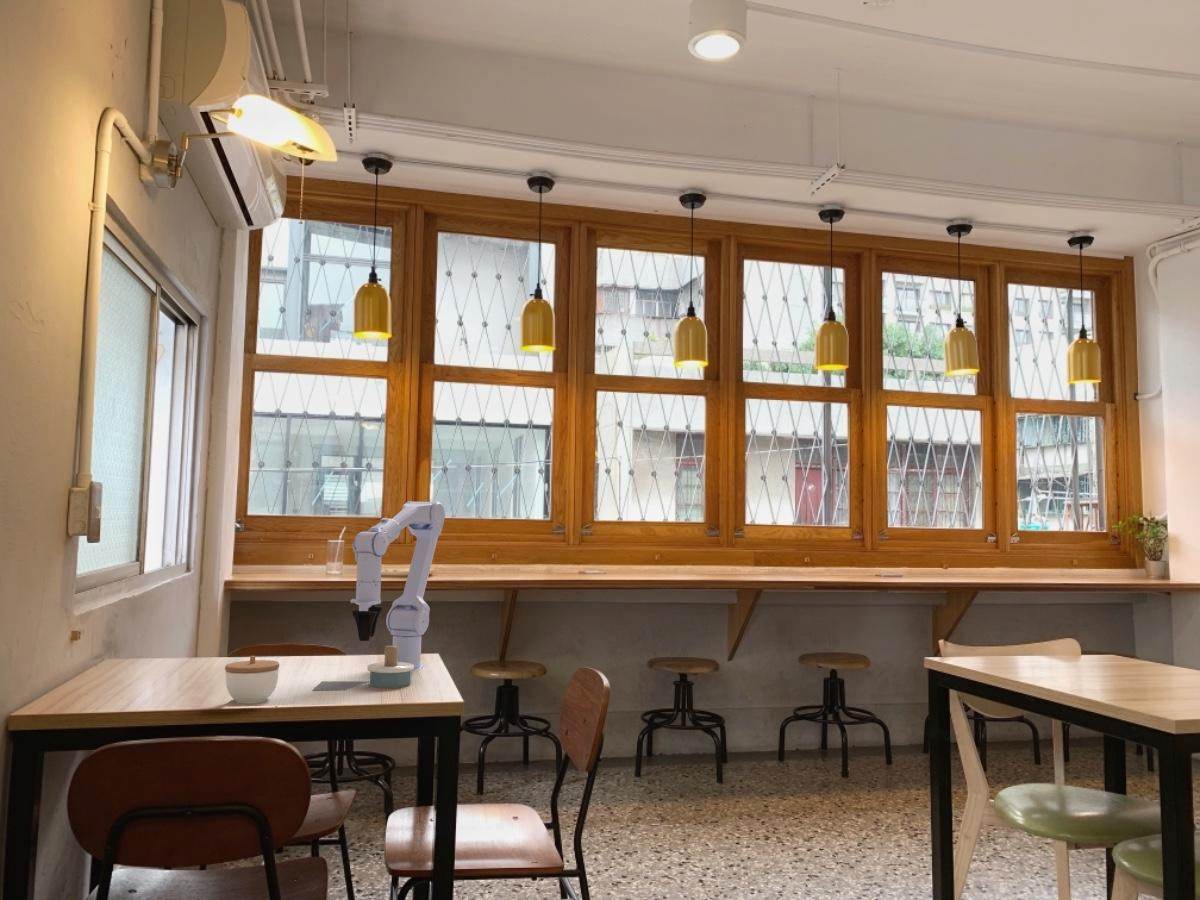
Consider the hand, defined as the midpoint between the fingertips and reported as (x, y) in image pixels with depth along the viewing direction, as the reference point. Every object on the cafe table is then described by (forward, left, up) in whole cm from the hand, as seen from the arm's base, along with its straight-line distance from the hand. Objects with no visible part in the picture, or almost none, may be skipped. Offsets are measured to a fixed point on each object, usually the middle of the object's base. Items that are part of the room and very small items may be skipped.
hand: (366, 638), depth 219 cm
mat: (+9, -4, -10) cm, 14 cm away
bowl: (+8, +7, -10) cm, 15 cm away
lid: (+8, +7, -6) cm, 12 cm away
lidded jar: (+24, -20, -10) cm, 33 cm away
